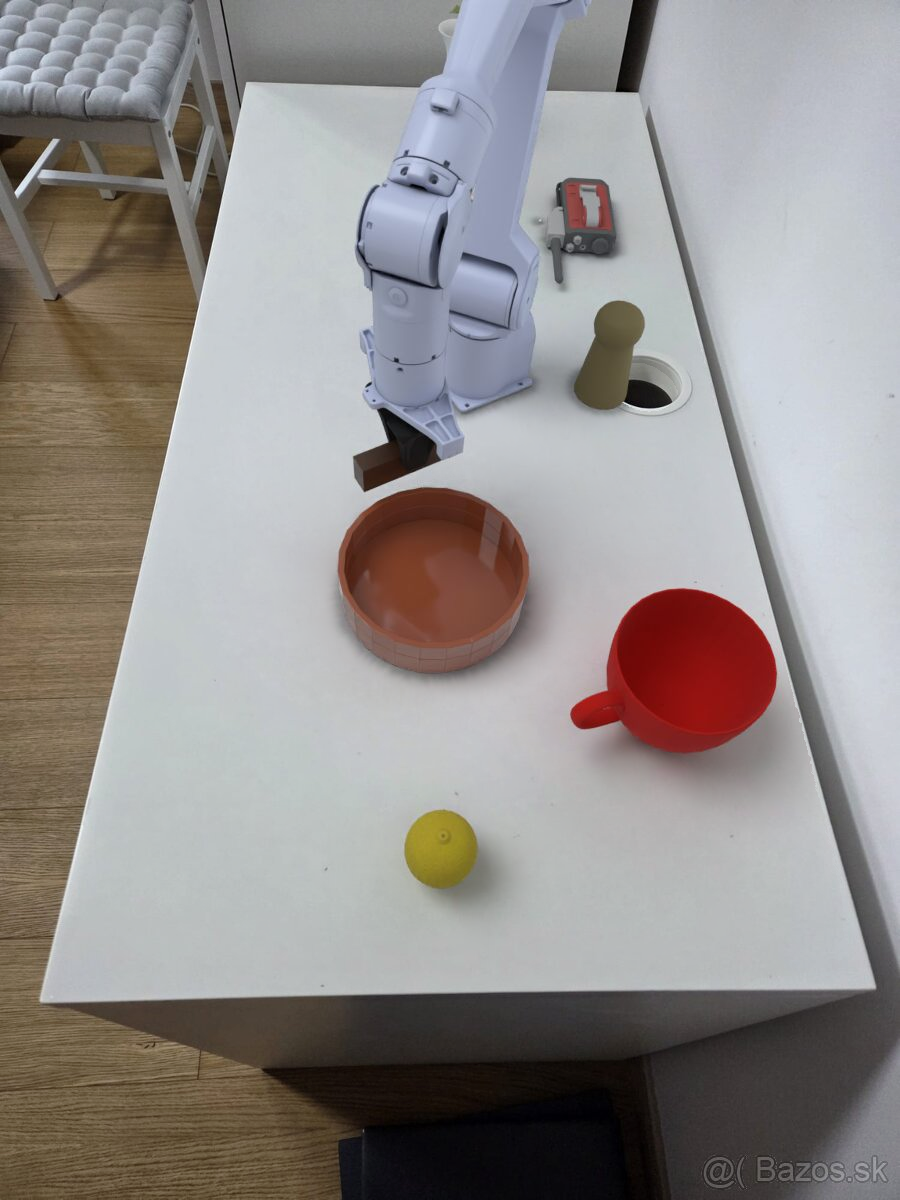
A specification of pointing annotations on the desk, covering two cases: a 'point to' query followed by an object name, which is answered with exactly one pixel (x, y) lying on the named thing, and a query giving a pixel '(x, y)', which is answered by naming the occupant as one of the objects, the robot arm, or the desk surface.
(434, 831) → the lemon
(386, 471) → the brown rectangular block
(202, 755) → the desk surface
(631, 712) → the ceramic cup
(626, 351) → the olive brown pawn
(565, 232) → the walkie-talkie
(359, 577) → the bowl
